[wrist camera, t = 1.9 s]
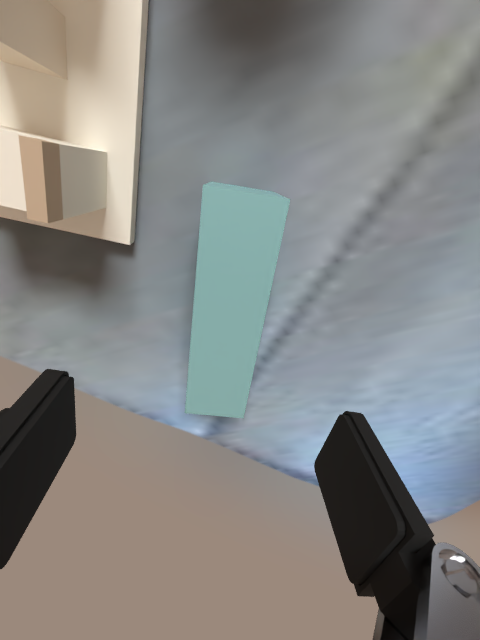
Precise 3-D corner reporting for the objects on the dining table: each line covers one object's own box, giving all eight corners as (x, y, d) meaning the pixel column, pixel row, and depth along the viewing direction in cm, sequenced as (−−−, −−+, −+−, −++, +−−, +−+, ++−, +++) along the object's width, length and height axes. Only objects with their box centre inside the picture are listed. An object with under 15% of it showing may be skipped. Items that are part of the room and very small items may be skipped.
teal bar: (272, 191, 18) (290, 199, 13) (240, 365, 25) (243, 418, 19) (211, 181, 18) (203, 185, 12) (194, 360, 24) (184, 413, 19)
